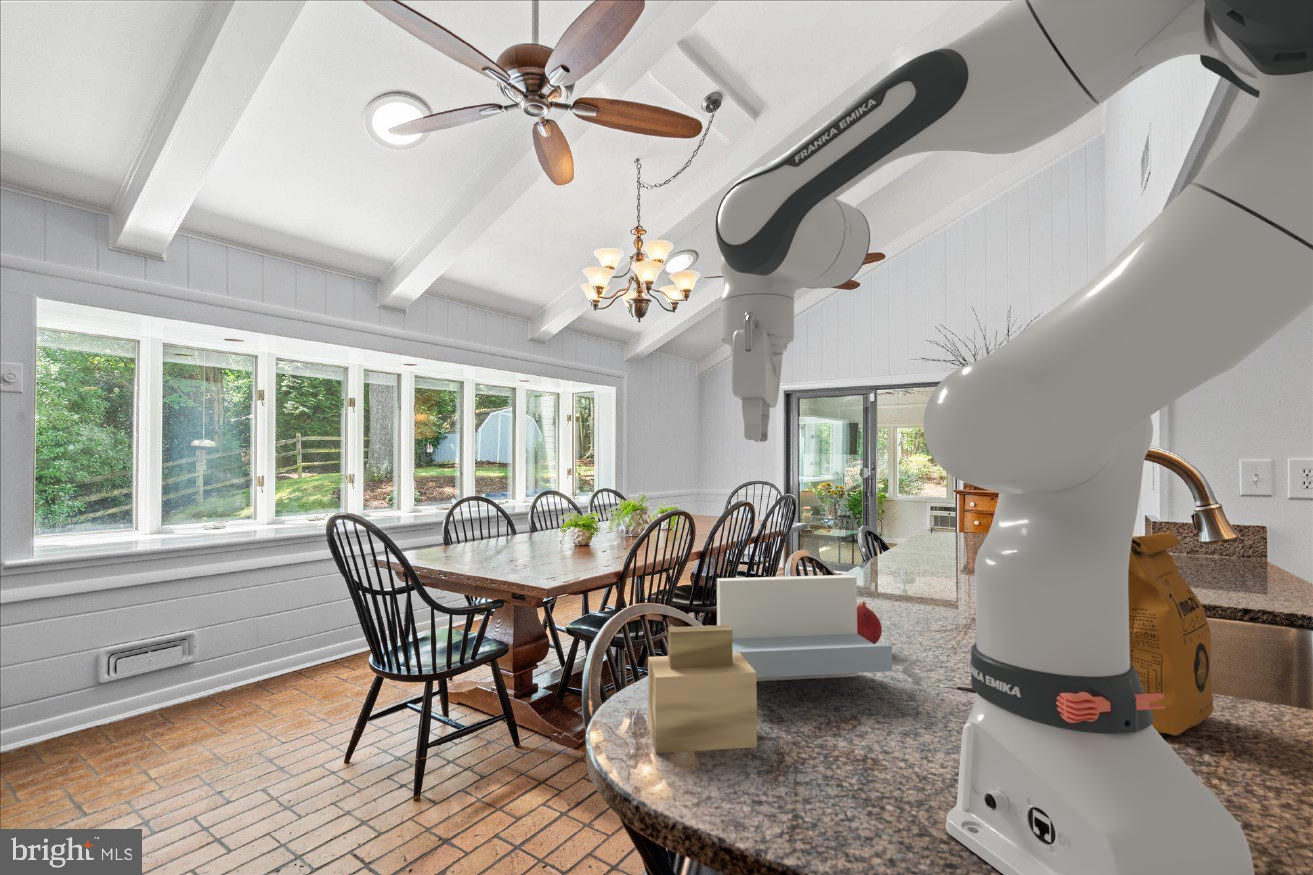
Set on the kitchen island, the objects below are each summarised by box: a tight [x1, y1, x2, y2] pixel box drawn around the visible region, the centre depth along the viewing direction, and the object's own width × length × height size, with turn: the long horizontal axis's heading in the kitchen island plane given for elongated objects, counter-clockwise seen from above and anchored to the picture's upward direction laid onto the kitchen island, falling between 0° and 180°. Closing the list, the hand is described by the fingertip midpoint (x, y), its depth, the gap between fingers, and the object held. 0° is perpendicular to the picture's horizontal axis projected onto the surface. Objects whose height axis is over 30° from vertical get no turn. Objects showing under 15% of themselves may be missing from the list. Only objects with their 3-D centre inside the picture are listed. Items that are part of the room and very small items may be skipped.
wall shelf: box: [716, 574, 893, 682], centre depth 84 cm, size 12×20×14 cm, turn 97°
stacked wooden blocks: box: [647, 624, 758, 754], centre depth 70 cm, size 7×11×12 cm, turn 97°
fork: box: [901, 665, 976, 694], centre depth 84 cm, size 3×16×2 cm, turn 59°
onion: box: [857, 600, 883, 644], centre depth 101 cm, size 6×6×8 cm
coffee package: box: [1128, 531, 1214, 736], centre depth 74 cm, size 10×12×22 cm
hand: (756, 441), depth 75 cm, fingers open, 8 cm apart
